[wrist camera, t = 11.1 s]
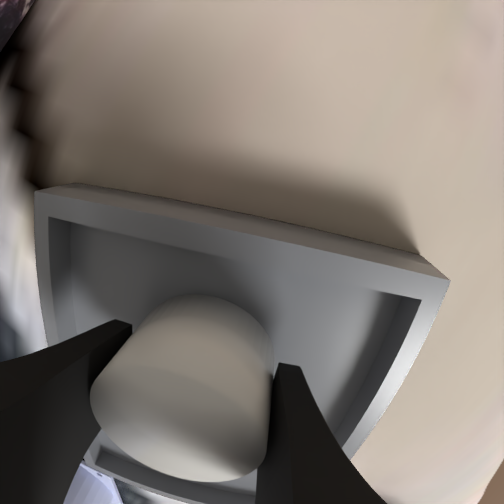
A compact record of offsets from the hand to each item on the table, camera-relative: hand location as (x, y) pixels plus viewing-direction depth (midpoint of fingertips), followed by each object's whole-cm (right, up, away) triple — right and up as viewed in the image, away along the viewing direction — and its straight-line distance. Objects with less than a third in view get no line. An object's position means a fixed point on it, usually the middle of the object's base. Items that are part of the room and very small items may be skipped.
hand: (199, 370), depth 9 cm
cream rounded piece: (0, 0, +1) cm, 1 cm away
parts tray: (0, -2, +3) cm, 4 cm away
